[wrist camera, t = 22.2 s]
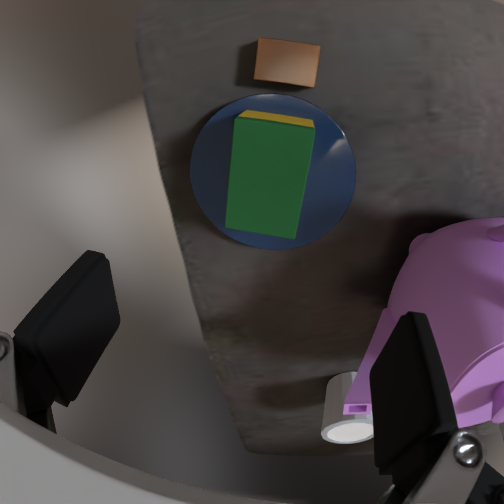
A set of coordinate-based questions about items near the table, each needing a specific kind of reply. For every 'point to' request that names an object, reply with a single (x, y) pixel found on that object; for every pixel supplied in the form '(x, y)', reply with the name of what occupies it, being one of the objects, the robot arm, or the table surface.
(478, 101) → the table surface
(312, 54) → the brown block
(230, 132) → the plate
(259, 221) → the sponge
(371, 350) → the teapot
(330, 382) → the shot glass
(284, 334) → the table surface
